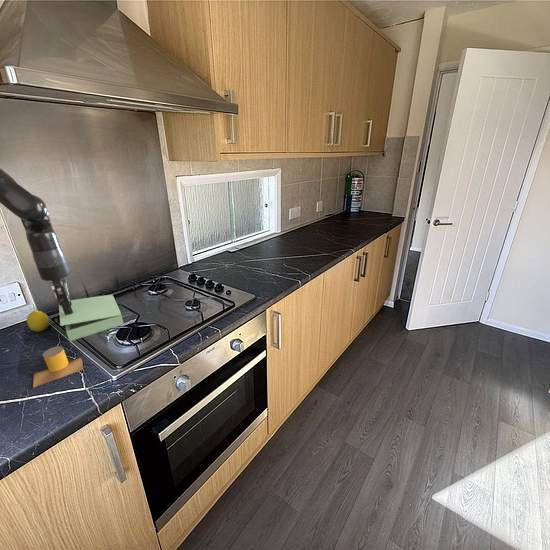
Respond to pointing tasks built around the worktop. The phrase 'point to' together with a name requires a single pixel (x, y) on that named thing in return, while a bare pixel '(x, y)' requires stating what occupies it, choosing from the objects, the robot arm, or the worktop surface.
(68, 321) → the lid
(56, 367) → the pod
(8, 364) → the worktop surface
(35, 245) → the robot arm
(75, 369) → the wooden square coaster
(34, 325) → the lemon
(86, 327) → the box
